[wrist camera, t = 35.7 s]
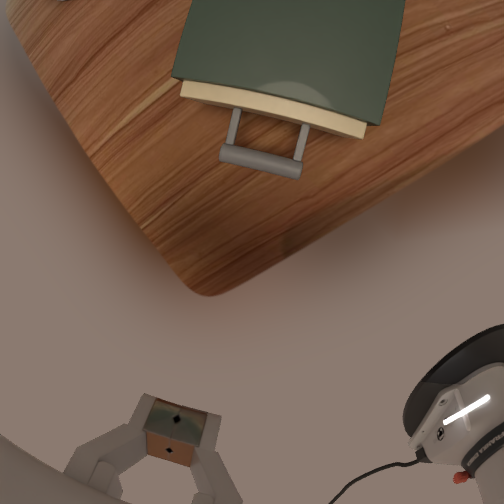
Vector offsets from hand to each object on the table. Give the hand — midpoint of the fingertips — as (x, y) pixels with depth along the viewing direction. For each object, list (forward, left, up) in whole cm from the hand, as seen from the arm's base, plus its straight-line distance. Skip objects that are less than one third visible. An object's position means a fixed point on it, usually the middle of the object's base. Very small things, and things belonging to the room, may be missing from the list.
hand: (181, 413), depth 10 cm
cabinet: (+19, 0, -21) cm, 28 cm away
